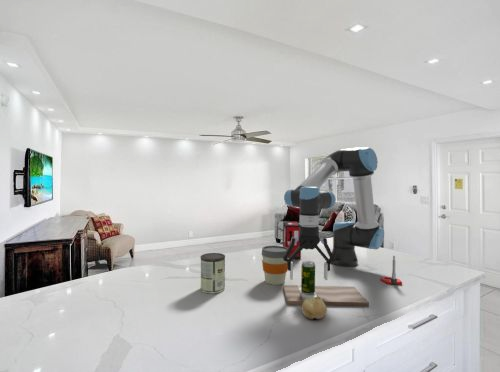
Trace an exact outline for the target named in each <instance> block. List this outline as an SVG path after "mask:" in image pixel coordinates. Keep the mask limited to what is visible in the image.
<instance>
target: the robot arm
mask: <svg viewBox="0 0 500 372" xmlns="http://www.w3.org/2000/svg"><path fill="white" fill-rule="evenodd" d="M377 168H378V157H377V154H376V152H375V150H374V149H373V148H371V147H363V146H362V147H353V148H342V149H341V148H340V149H338V150H335V151H334V152H332V153H330V154H329V155H327V156H326V157H325V158H324V159H322V160H321V162H320V165H319V166H318V167H316V169H315V170H314V171H313V172H312V173H310V174H309V175H308V177H306V179H304V180H303V181H302V182H301V183H300V184H299V185H298V186H297V187H296V188H295V189H288V190H286V191H285V192H284V195H283V196H284V198H283V199H284V203H285V204H286V205H287V206H288V207H293V208H297V207H298V208H299V222H298V223H299V224H300V225H301V226H300V227H299V238H294V237H292V238H291V243H290V245H289V247H288V249H287V251H286V253H285V255H284V257H283V260H284V261H286V262H288V264H287V268H288V269H287V272H288V271H289V279H290V280H293V278H294V262H293V261H294V260H295V259H294V258H295V257H296V256H297V255H298V254H299V252H300V251H301V252H302V251H303V249H304V250H313V251H314V250H316V251H317V252H318V253H319V254H320V256H322V258H323V259H324V260H325V261H324V262H323V279H324V280H325V281H328V278H329V277H328V274H329V273H328V272H330V271H331V264H334V265H337V266H342V267H353V266H357V265H358V261H359V260H358V256H357V254H356V251H355V250H356V249H355V248H356V247H357V248H363V249H369V250H379V249H380V248H381V247H382V244H383V242H384V238H385V229H384V228H383V227H380V224H379V221H377V220H376V214H375V205H374V204H375V203H374V195H373V194H374V193H373V184H372V176H373V175H374V173H375V171H376V170H377ZM340 172H348V175H349V177H350V178H352V180H353V189H354V198H355V207H356V216H357V217H356V218H357V221H356V222H355V221H339V222H335V223H334V224H333V230H332V231H333V232H332V236H333V237H332V239H333V240H332V243H333V245H332V250H331V249H330V247H329V244H328V239H327V238H326V237H319V235H320V233H319V231H320V227H319V225H320V224H319V223H320V222H319V221H320V220H319V219H320V210H328V209H330V208H333V207H334V206H335V204H336V201H337V199H336V196H335V193H333V192H332V191H330V190H320V188H321V187H322V186H323V185H324V184H325V183H326V182H327V181H328V179H330V178H331V176H334V175H337V173H340ZM297 241H299V243H300V245H299V246H298V248H297V249H296V250H295V251H294V252H293V253H292V254H291V256H290V257H289V258H288V256H289V254H290V252H291V251H292V249H293V247H294V244H295V243H297ZM320 242H321V244H322V245H323V247H324V249H325V251H326V253H327V254H328V256H327V255H326V254H325V253H324V252H323V251H322V249H321V248H320V247H319V246H318V245H319V244H320Z"/></svg>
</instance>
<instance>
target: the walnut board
mask: <svg viewBox="0 0 500 372" xmlns="http://www.w3.org/2000/svg"><path fill="white" fill-rule="evenodd" d="M282 285H283V292H284V296H285V300H286V305H287V306H302V304H303V302H304V301H305V300H306V299H307V298H310V297H317V294H318V297H321V300H322V301H323V302H324V303H325V306H326V307H327V306H329V307H330V306H331V307H370V302H369V301H368V300H367V299H366V298H365V297H364V296H363V294H362V293H361V291H359V290H358V289H357V288H356V286H345V285H344V286H342V285H341V286H340V285H335V286H334V285H315V293H314V294H313V295H306V294H303V293H302V291H301V284H297V285H295V284H294V285H293V284H292V285H291V284H288V285H286V284H285V285H284V284H282Z"/></svg>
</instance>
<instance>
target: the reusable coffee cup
mask: <svg viewBox="0 0 500 372" xmlns="http://www.w3.org/2000/svg"><path fill="white" fill-rule="evenodd" d="M287 249H288V248H287V247H283V245H267V246H264V247H262V249H261V256H262V260H261V262H262V263H261V264H262V271H263V273H264V282H265V283H266V284H269V285H274V286H279V285H284V284H285V282H286V278H287V277H286V276H287V272H288V268H287V264H288V262H286V261H284V260H283V257H284V255H285V253H286V251H287Z"/></svg>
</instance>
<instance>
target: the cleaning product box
mask: <svg viewBox="0 0 500 372" xmlns="http://www.w3.org/2000/svg"><path fill="white" fill-rule="evenodd" d="M282 223H283V224H282V246H283V247H287V248H288V247H289V245H290V243H291V238H292V237H294V238H299V227H300V226H301V225H300V224H299V223H300V222H299V221H285V220H284V221H282ZM299 245H300V243H299V241H297V243H295V244H294V247H293V249H292V251H291V252H290V254H289V256H288V258H289V257H290V256H291V254H292V253H293V252H294V251H295V250H296V249H297V248H298V246H299ZM293 260H297V261H298V260H302V250H301V251H300V252H299V254H298V255H297V256H296V257H295V258H294V259H293Z"/></svg>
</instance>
